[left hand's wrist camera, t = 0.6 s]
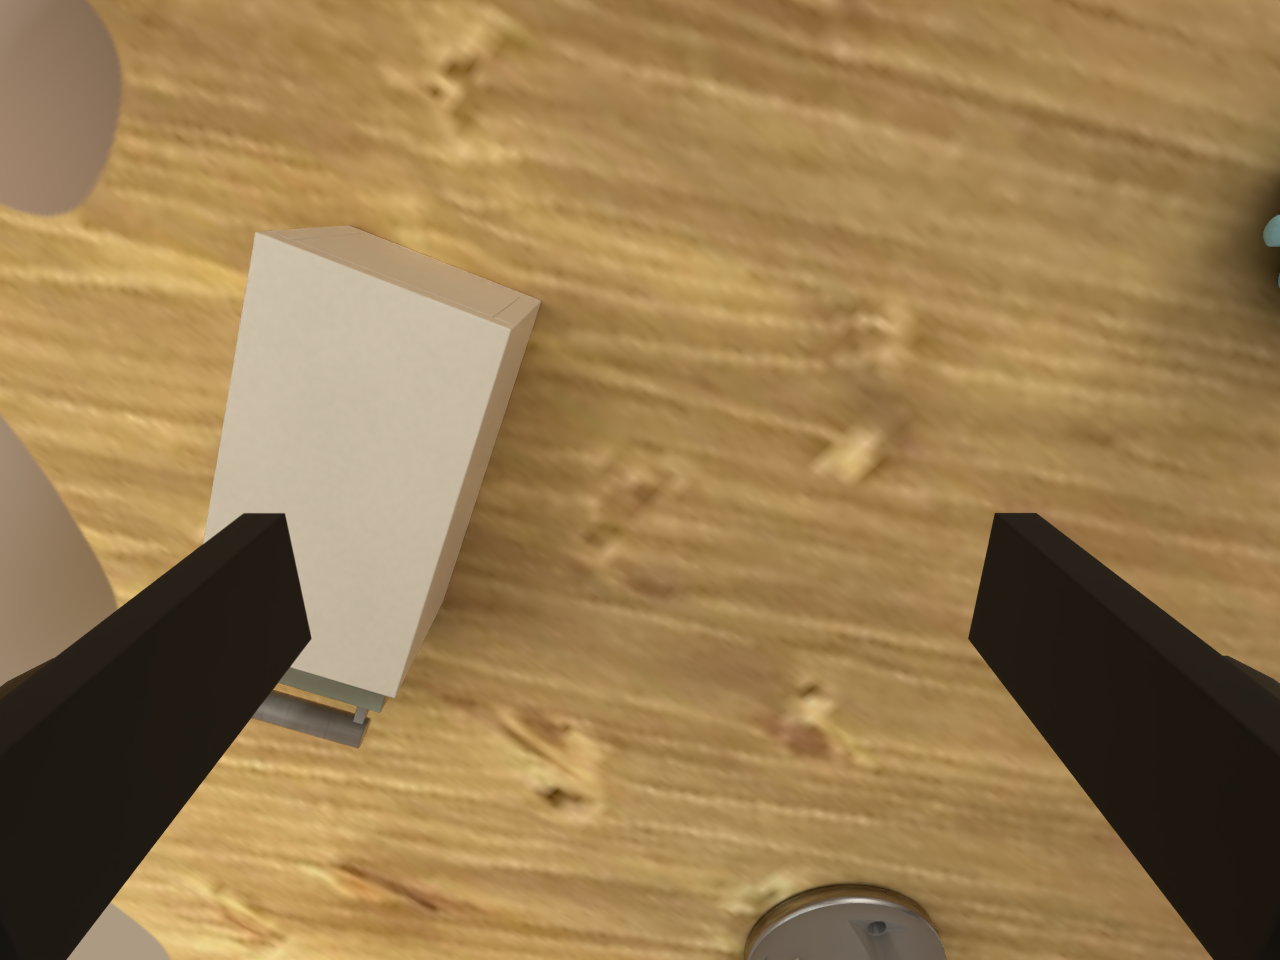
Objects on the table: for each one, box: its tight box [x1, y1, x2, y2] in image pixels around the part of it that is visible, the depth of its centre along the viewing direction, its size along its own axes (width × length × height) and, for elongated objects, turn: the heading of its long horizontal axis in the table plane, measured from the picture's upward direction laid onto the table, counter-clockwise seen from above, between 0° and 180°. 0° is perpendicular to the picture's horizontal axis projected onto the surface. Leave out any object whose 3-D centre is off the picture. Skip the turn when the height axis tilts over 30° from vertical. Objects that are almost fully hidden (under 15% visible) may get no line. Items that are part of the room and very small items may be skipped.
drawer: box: [252, 667, 388, 748], centre depth 36 cm, size 24×9×7 cm, turn 159°
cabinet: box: [203, 226, 541, 698], centre depth 34 cm, size 20×10×9 cm, turn 159°
